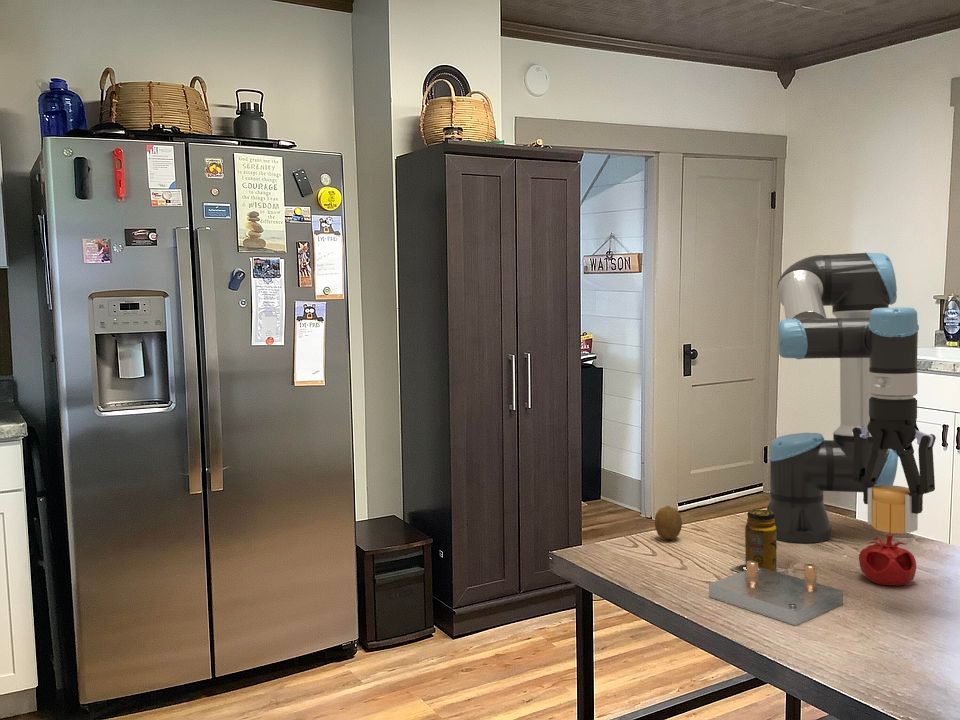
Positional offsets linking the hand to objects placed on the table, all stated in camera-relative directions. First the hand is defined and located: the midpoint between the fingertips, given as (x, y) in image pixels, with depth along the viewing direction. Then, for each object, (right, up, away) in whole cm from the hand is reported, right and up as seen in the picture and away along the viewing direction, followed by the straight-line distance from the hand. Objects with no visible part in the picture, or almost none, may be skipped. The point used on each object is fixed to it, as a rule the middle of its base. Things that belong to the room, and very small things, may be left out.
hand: (892, 526), depth 144 cm
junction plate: (-18, -15, +7) cm, 24 cm away
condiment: (-16, -14, +23) cm, 31 cm away
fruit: (-29, -13, +46) cm, 56 cm away
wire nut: (0, 0, 0) cm, 0 cm away
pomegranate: (+7, -14, +15) cm, 21 cm away
